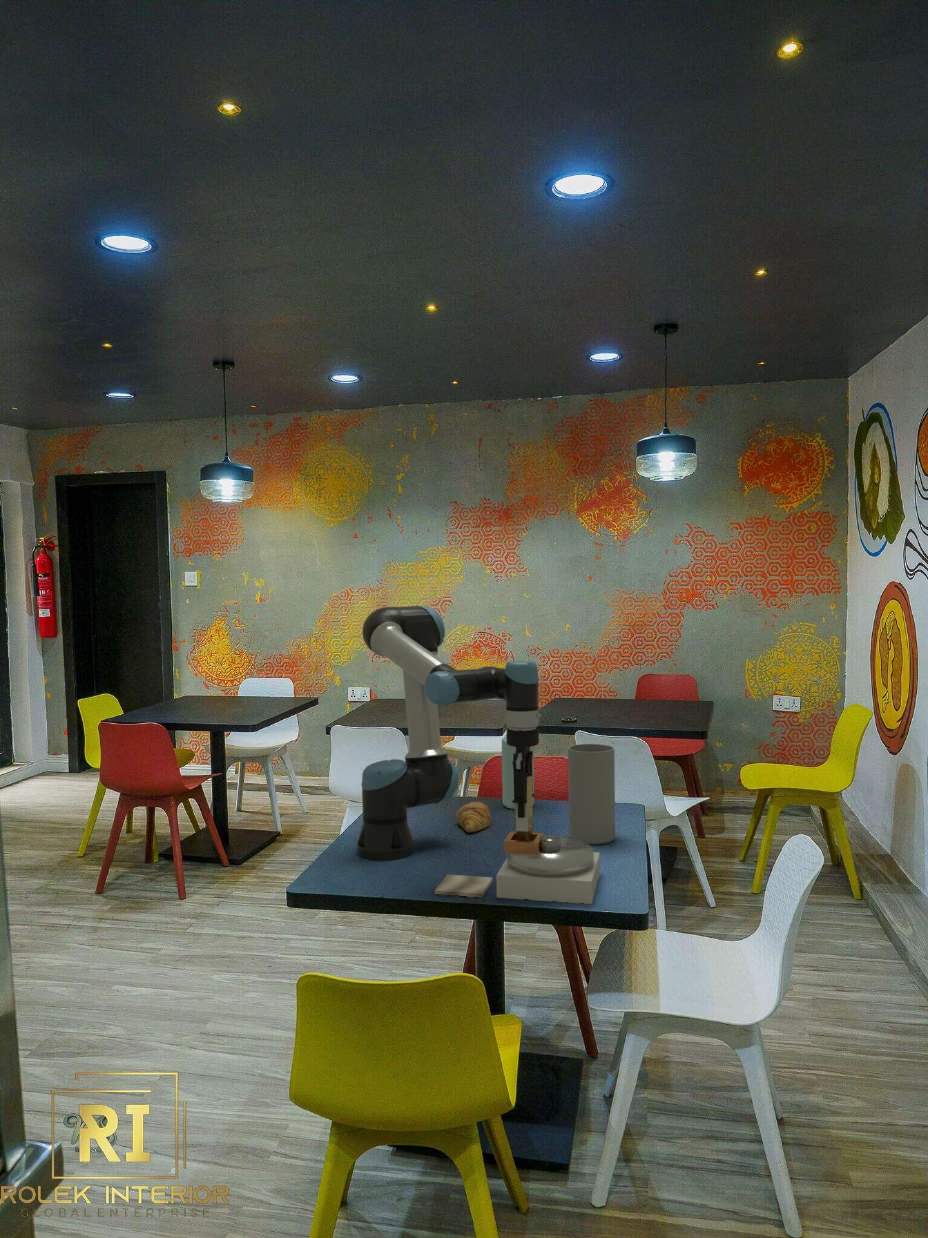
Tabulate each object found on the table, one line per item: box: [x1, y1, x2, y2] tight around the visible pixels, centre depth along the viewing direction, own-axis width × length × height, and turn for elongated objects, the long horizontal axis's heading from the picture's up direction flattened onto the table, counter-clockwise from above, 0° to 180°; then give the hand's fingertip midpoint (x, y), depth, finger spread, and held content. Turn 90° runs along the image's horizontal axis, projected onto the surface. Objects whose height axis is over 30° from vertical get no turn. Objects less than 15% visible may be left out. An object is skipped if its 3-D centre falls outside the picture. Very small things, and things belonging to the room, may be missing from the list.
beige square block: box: [495, 851, 601, 905], centre depth 197 cm, size 21×21×5 cm
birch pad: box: [434, 874, 494, 899], centre depth 196 cm, size 11×11×1 cm
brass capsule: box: [514, 776, 534, 841], centre depth 198 cm, size 4×4×16 cm
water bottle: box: [501, 727, 535, 810], centre depth 270 cm, size 10×10×25 cm
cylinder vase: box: [567, 743, 616, 846], centre depth 233 cm, size 12×12×25 cm
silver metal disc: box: [503, 831, 595, 876], centre depth 197 cm, size 20×20×6 cm
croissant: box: [455, 800, 492, 833], centre depth 250 cm, size 21×10×8 cm, turn 173°
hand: (524, 828), depth 198 cm, fingers closed on brass capsule, 4 cm apart
